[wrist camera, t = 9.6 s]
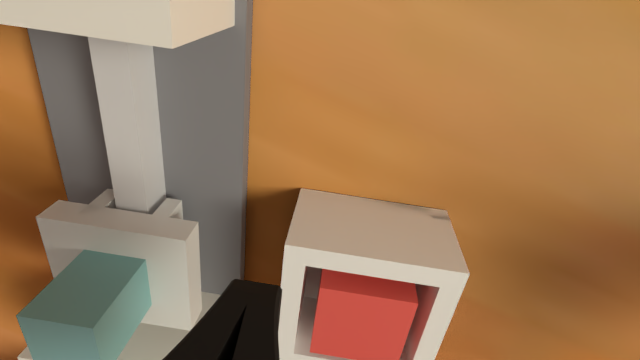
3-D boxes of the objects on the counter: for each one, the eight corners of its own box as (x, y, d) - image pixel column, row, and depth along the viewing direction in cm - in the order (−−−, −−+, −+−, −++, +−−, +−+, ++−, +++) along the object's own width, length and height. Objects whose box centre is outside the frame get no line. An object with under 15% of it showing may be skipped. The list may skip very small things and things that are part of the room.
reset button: (391, 312, 22) (396, 366, 19) (316, 299, 22) (309, 352, 19) (409, 253, 20) (418, 303, 17) (326, 240, 20) (320, 287, 17)
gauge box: (411, 313, 24) (422, 387, 20) (289, 293, 25) (273, 362, 20) (446, 210, 20) (469, 273, 16) (301, 188, 21) (284, 244, 16)
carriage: (211, 288, 23) (155, 406, 16) (98, 270, 23) (-1, 379, 17) (209, 204, 20) (139, 309, 13) (80, 184, 20) (-49, 278, 14)
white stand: (242, 328, 27) (206, 433, 20) (104, 305, 27) (27, 402, 21) (255, -83, 15) (181, -125, 9) (13, -116, 15) (-221, -178, 9)
